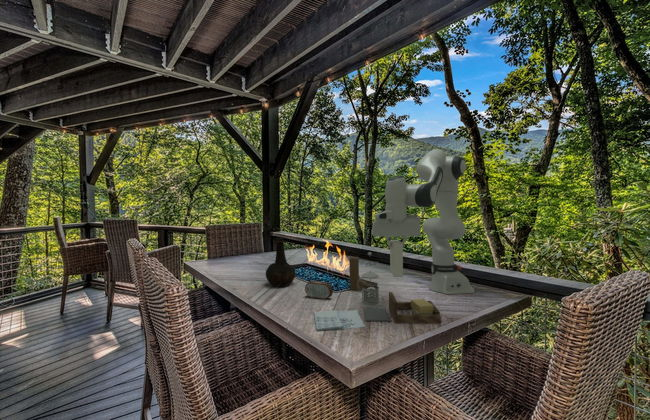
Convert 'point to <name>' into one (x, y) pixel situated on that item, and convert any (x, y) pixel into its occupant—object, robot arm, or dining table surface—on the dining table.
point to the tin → (318, 289)
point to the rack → (411, 317)
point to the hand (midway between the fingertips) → (396, 247)
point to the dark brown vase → (280, 267)
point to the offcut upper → (422, 306)
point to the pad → (376, 315)
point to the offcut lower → (418, 313)
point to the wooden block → (355, 274)
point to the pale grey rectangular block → (396, 258)
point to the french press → (370, 290)
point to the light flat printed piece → (338, 320)
